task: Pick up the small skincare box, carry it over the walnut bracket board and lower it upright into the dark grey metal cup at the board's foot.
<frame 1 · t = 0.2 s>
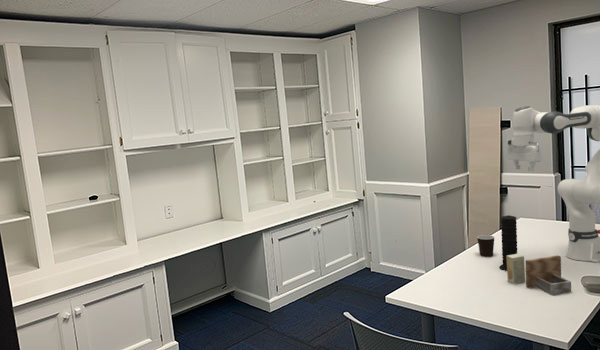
hand: (524, 170, 220), 48 cm above the table, fingers open, 8 cm apart
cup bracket: (552, 288, 196), on the table
skincare box: (516, 281, 208), on the table
handle grip: (510, 268, 225), on the table
coffee mug: (487, 254, 248), on the table
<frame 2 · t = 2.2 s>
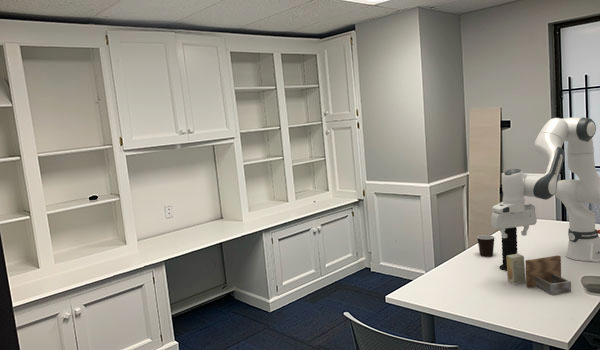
hand: (514, 236, 205), 21 cm above the table, fingers open, 8 cm apart
nothing on the table moved.
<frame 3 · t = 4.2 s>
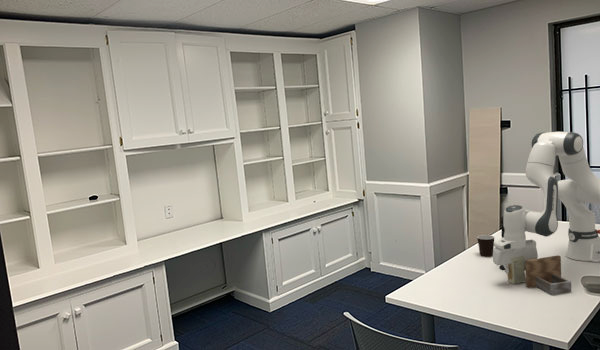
hand: (515, 271, 207), 5 cm above the table, fingers closed on skincare box, 6 cm apart
skincare box: (516, 281, 208), on the table, touching gripper
everything else where it was.
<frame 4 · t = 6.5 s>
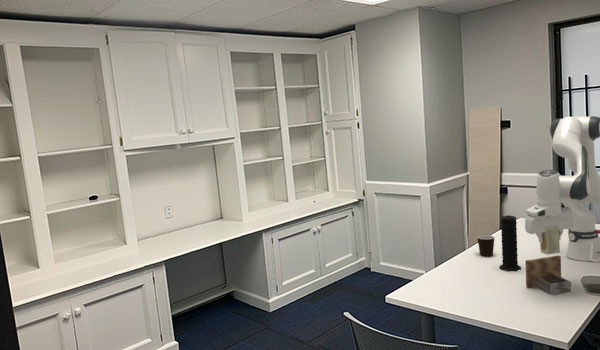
hand: (549, 241, 194), 21 cm above the table, fingers closed on skincare box, 6 cm apart
skincare box: (550, 253, 195), point 16 cm above the table, touching gripper
everything else where it was.
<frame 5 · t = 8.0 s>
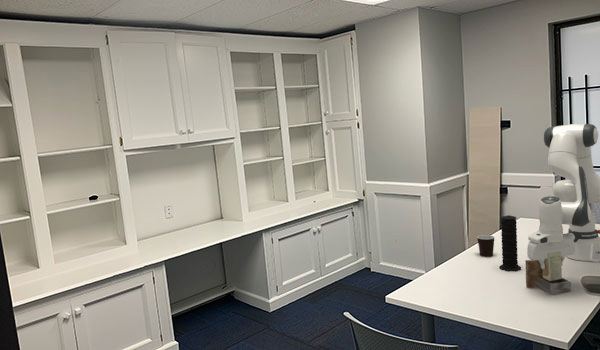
hand: (551, 267, 195), 10 cm above the table, fingers closed on skincare box, 6 cm apart
skincare box: (552, 279, 196), point 4 cm above the table, touching gripper
everything else where it was.
when the fingers open (7 cm above the table, at t = 9.1 s): skincare box stays where it is, resting on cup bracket.
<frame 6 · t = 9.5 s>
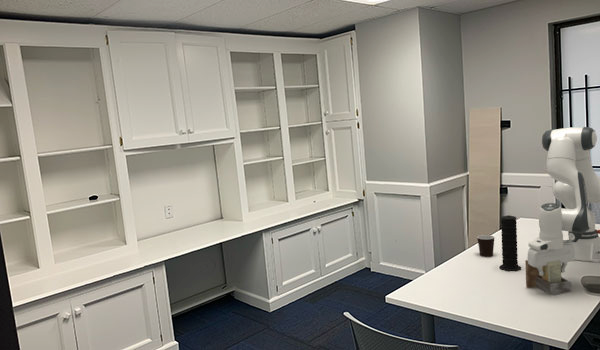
hand: (551, 273, 195), 7 cm above the table, fingers open, 8 cm apart
skincare box: (551, 287, 196), point 1 cm above the table, touching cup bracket
everything else where it was.
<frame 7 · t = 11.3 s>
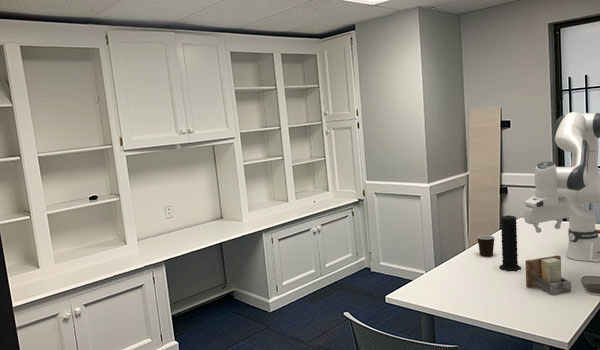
hand: (548, 230, 201), 23 cm above the table, fingers open, 8 cm apart
nothing on the table moved.
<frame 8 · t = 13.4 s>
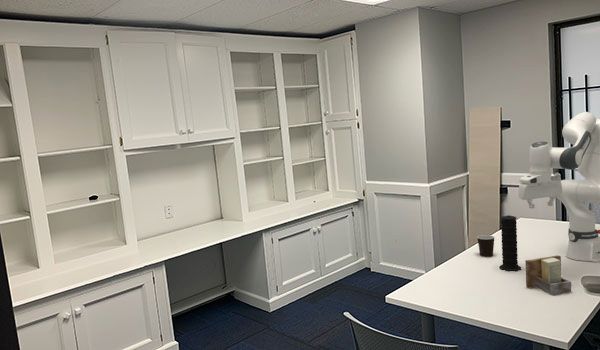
hand: (541, 207, 212), 31 cm above the table, fingers open, 8 cm apart
nothing on the table moved.
at the end: skincare box 0.4 cm off-centre on the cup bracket, point 0.6 cm above the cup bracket's base; skincare box tilted 0°; the gripper is holding nothing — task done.
